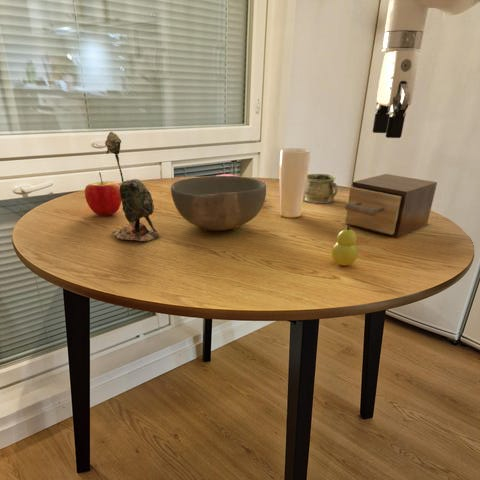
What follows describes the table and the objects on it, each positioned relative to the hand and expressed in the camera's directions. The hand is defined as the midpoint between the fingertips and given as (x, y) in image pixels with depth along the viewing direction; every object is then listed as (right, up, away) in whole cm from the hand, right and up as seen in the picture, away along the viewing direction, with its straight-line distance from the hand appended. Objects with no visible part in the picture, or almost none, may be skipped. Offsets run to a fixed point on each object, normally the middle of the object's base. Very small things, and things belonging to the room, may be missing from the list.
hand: (385, 135), depth 95 cm
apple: (-65, -16, +7) cm, 67 cm away
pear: (-14, -31, -18) cm, 39 cm away
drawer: (-2, -20, +1) cm, 20 cm away
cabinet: (+2, -19, +4) cm, 20 cm away
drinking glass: (-20, -16, +9) cm, 27 cm away
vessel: (-11, -8, +24) cm, 27 cm away
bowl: (-37, -21, 0) cm, 43 cm away
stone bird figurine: (-54, -25, -7) cm, 59 cm away
